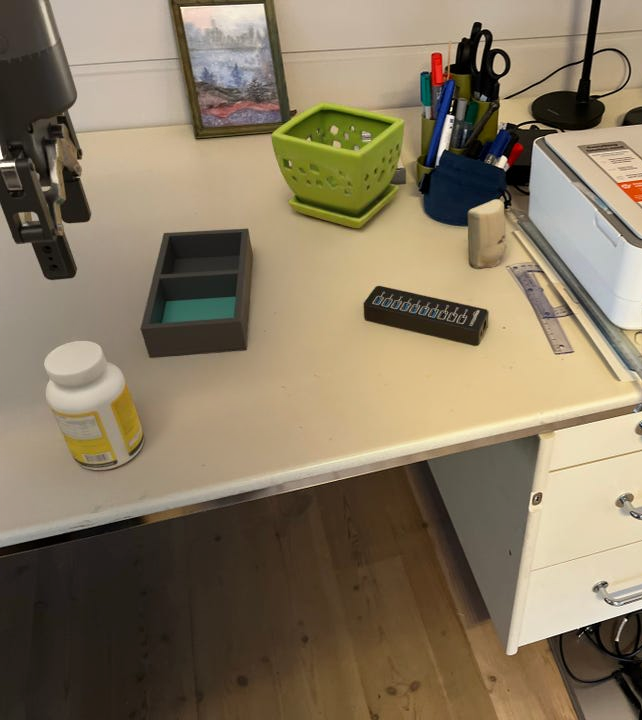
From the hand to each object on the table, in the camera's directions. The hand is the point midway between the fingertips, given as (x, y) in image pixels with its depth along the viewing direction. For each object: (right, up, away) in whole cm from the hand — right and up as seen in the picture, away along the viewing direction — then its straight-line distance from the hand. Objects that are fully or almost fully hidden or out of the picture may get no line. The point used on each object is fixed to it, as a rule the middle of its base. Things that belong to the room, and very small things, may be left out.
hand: (70, 247), depth 60 cm
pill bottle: (-3, -18, +13) cm, 22 cm away
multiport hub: (+26, -5, +30) cm, 40 cm away
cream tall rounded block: (+34, +5, +42) cm, 54 cm away
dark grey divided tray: (-1, -2, +31) cm, 31 cm away
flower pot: (+13, +13, +51) cm, 54 cm away
